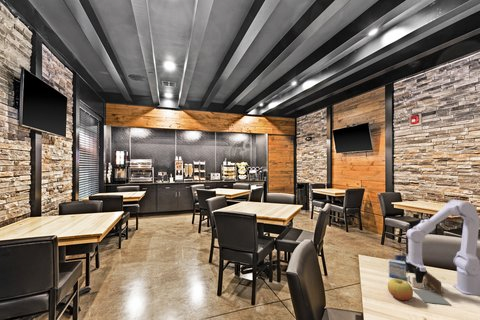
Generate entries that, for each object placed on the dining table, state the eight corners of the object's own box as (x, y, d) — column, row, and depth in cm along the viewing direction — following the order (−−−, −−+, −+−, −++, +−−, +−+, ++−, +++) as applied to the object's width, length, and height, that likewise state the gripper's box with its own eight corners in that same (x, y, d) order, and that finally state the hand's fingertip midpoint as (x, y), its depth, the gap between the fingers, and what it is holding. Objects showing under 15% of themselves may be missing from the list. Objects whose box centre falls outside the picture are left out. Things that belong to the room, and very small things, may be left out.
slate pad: (435, 292, 112) (435, 291, 112) (451, 305, 102) (451, 304, 102) (412, 289, 114) (412, 288, 114) (425, 302, 104) (425, 301, 104)
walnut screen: (428, 281, 123) (427, 270, 123) (444, 294, 110) (444, 283, 110) (421, 280, 123) (421, 270, 123) (437, 294, 110) (436, 282, 111)
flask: (395, 270, 136) (394, 251, 136) (393, 268, 139) (392, 250, 139) (413, 271, 134) (412, 253, 134) (410, 269, 136) (410, 251, 137)
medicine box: (389, 276, 128) (388, 261, 128) (388, 273, 132) (388, 258, 132) (406, 280, 124) (406, 264, 124) (405, 276, 128) (405, 261, 128)
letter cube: (418, 283, 121) (418, 273, 121) (423, 288, 116) (423, 278, 116) (407, 282, 122) (407, 272, 122) (412, 287, 117) (412, 277, 117)
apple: (412, 306, 101) (411, 287, 101) (386, 298, 107) (385, 280, 108) (414, 296, 108) (413, 279, 109) (389, 289, 115) (389, 273, 115)
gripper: (399, 247, 127) (400, 272, 127) (413, 257, 113) (414, 285, 113) (414, 248, 126) (414, 273, 125) (430, 258, 112) (431, 287, 111)
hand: (415, 279), depth 119 cm, fingers open, 6 cm apart
